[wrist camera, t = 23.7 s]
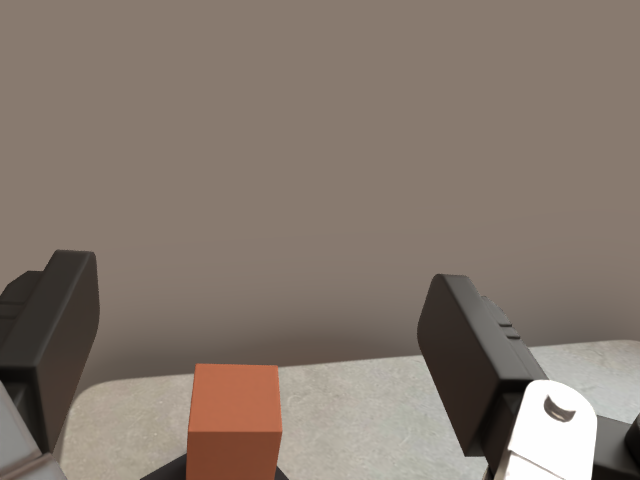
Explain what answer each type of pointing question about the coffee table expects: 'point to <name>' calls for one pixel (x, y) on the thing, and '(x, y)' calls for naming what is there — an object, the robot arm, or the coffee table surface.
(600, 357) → the coffee table surface
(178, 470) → the felt mat
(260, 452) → the top block
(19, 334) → the robot arm
